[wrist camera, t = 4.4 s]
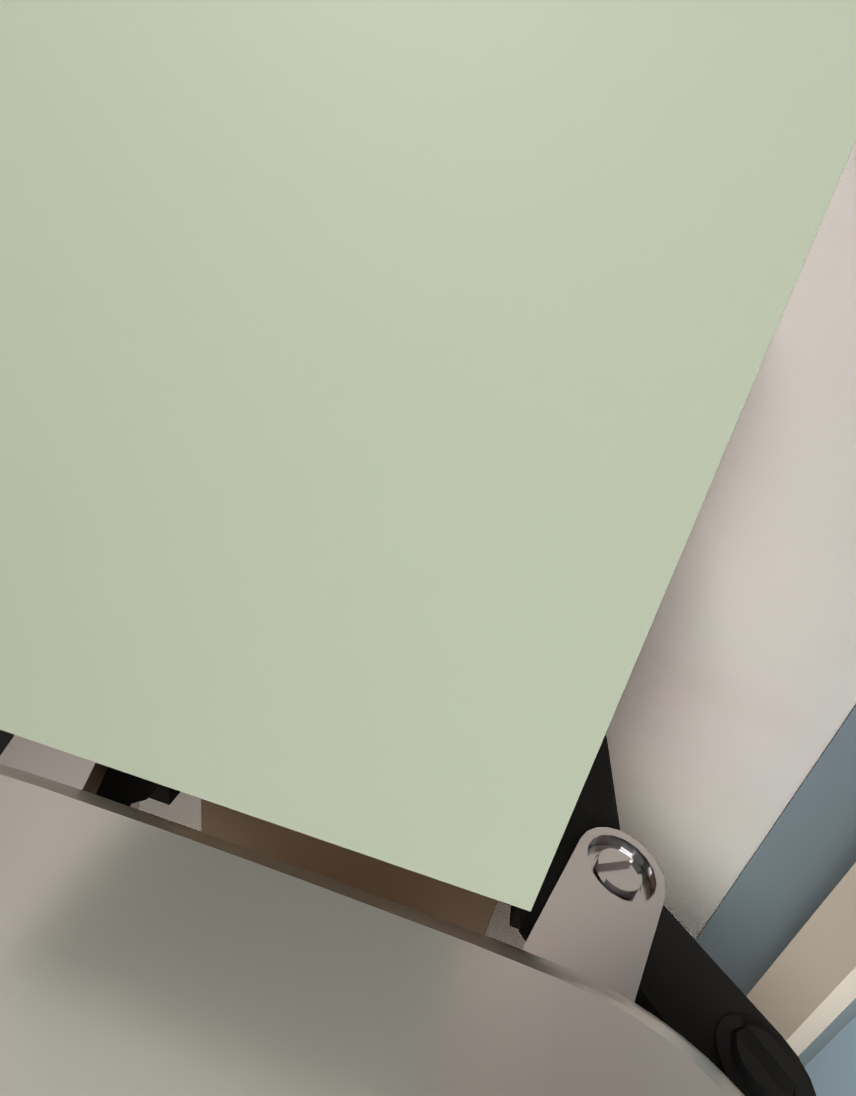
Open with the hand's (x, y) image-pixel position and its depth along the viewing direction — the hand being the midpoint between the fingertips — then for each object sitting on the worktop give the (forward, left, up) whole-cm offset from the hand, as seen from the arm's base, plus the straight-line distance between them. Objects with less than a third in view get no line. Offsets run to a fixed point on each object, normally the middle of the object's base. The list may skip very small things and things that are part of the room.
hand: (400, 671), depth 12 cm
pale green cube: (-7, 0, +3) cm, 7 cm away
